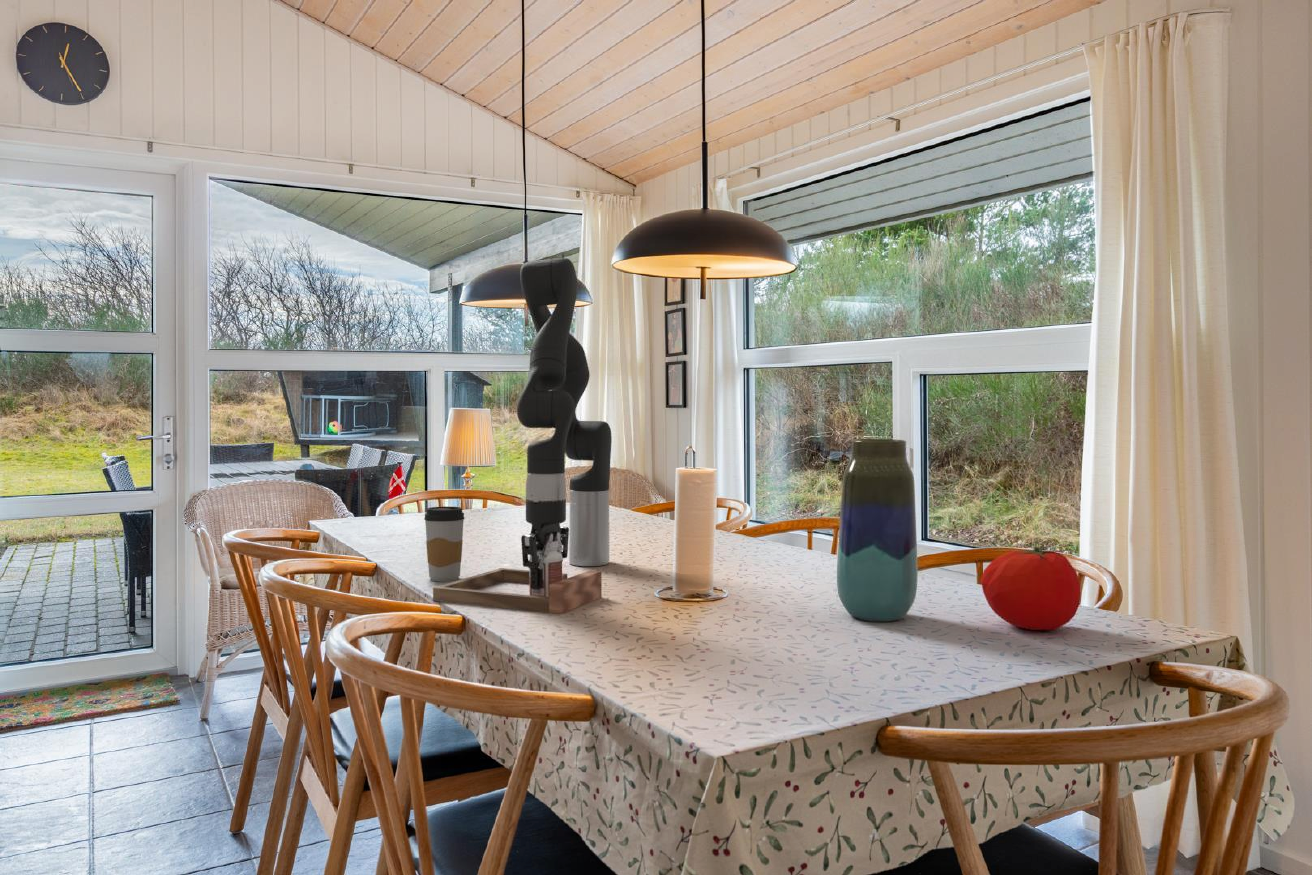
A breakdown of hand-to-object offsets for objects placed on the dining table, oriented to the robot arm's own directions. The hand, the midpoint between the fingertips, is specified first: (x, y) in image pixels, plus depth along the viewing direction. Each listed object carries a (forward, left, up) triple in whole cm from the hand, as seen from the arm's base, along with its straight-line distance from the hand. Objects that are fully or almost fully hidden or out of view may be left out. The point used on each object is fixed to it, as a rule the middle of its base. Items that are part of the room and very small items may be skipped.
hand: (545, 585), depth 177 cm
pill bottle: (0, 0, -3) cm, 3 cm away
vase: (-13, +59, -3) cm, 61 cm away
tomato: (-15, +84, -3) cm, 86 cm away
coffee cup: (-11, -31, -3) cm, 33 cm away
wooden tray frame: (-4, -6, -3) cm, 8 cm away
